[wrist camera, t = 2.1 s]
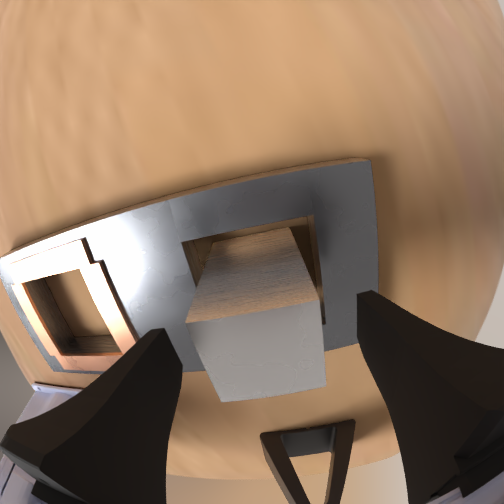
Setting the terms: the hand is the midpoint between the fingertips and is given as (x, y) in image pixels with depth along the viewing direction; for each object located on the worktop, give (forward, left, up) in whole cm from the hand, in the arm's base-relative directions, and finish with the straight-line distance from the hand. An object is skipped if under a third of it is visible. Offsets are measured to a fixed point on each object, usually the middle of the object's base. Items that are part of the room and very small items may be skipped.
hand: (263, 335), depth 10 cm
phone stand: (+1, -20, -6) cm, 21 cm away
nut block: (0, 0, -6) cm, 6 cm away
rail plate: (-6, 0, -6) cm, 8 cm away
